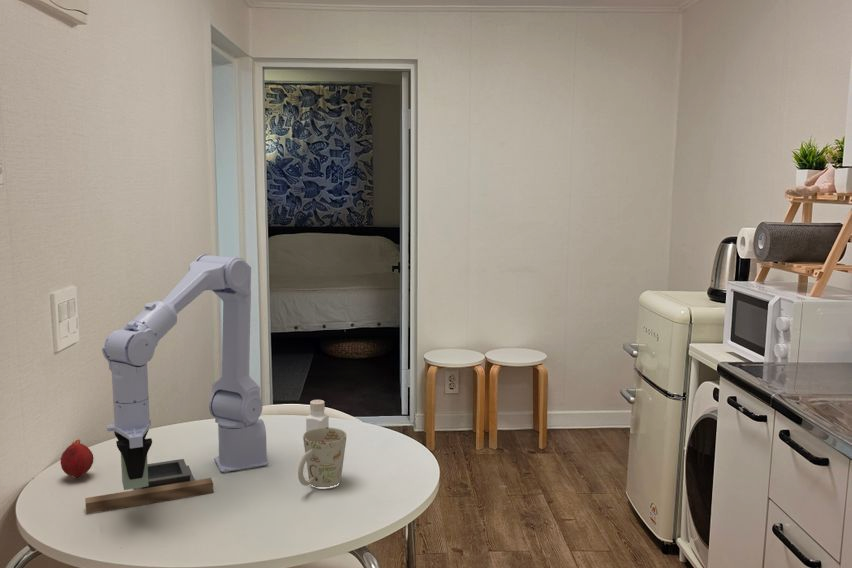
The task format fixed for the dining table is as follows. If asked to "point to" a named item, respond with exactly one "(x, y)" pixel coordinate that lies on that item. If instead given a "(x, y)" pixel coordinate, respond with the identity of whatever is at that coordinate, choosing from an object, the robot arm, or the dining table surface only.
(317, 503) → the dining table surface
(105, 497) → the door edge rail
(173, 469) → the keeper
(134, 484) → the stop block
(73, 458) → the onion
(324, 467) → the mug
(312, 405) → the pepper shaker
